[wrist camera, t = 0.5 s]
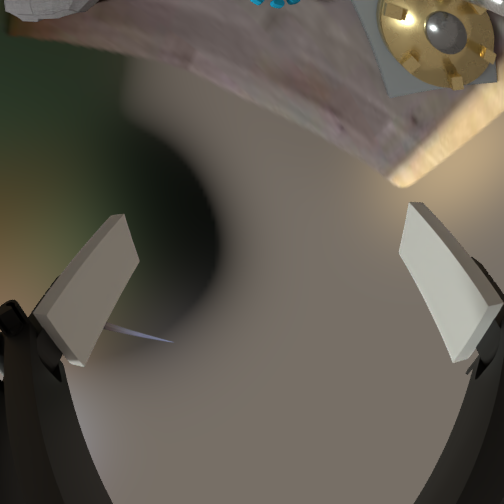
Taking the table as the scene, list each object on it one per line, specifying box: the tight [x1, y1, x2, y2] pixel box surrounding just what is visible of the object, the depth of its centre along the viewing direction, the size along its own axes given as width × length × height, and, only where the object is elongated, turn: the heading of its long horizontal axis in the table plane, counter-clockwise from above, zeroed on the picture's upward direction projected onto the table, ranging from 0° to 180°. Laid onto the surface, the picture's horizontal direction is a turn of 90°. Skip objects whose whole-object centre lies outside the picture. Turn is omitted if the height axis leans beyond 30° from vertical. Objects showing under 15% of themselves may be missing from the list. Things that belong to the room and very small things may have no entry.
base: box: [351, 0, 497, 98], centre depth 21 cm, size 20×20×2 cm
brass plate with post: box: [376, 0, 504, 90], centre depth 16 cm, size 17×17×15 cm
